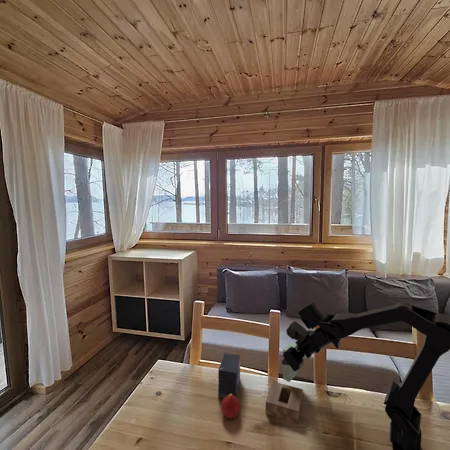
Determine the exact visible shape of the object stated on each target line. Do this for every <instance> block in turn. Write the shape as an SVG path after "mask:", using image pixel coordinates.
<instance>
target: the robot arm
mask: <svg viewBox="0 0 450 450" xmlns="http://www.w3.org/2000/svg"><path fill="white" fill-rule="evenodd" d="M296 315H297V316H298V318H299V319H300V320H301V322H302V323H303V324H304V325H305V327H306V328H307V329H308V330H307V329H306V328H305V327H304V326H302V324H300V323H299V322H298V321H293V322H291V323H290V324H289V325H288V328H286V330H285V331H286V335H287V337H289V338H290V339H291V340H295V343H294V344H297V350H296V349H295V348H294V347H290V348H288V349H287V350H286V351H285V352H284V353H283V352H282V357H283V356H284V359H283V358H282V361H281V364H282V366H283V365H290V367H291V368H292V370H293V371H297V372H298V371H299V370H300V369H301V368H302V367H303V366H304V362H305V360H304V357H306V358H307V359H310V358H311V357H312V355H314V354H319V352H320V351H321V350H322V349H324V348H326V347H328V346H329V345H331V344H332V345H333V346H334V347H335V348H336V349H339V348H340V346H341V345H342V339H345V338H347V337H349V336H351V335H353V334H355V333H357V332H359V331H362V330H365V329H369V328H370V329H371V328H374V327H379V326H383V325H388V324H394V323H399V322H404V323H406V324H408V325H410V326H411V327H412V328H413V329H414V330H416V331H418V332H419V333H421V334H423V335H424V336H425V337H424V341H423V344H422V345H421V347H420V349H419V351H418V352H417V354H416V356H415V358H414V360H413V362H412V364H411V365H410V367H409V368H408V371H407V373H406V375H405V376H404V378H403V380H402V381H401V382H400V383H396V382H395V381H394V380H393V381H392V383H391V386H390V388H389V389H388V390H387V391H386V395H385V399H384V400H383V404H384V405H385V406H384V411H385V413H386V415H387V417H388V418H389V419H390V422H389V441H390V443H391V447H392V448H391V449H392V450H422V449H421V447H422V435H423V434H422V430H421V422H422V413H421V412H420V411H419V410H418V408H417V407H416V406H415V403H416V399H417V396H418V395H419V393H420V392H421V390H422V388H423V387H424V384H425V383H426V380H427V379H428V377H429V376H430V374H431V373H432V371H433V369H434V367H435V365H436V364H437V362H438V361H439V359H440V358H441V357H442V356H443V355H445V354H446V353H448V352H449V351H450V315H448V314H445V313H438V312H435V311H433V310H431V309H428V308H423V307H420V306H416V305H413V304H411V303H409V302H406V301H401V302H399V303H397V304H391V305H388V306H384V307H379V308H375V309H372V310H368V311H367V310H366V311H363V312H360V313H359V312H358V313H354V312H342V313H341V312H339V313H337V314H332V313H326V314H324V315H323V314H322V312H321V311H320V310H319V308H317V306H316V304H315V303H314V302H311V303H310V304H307V305H306V306H304V307H303V308H301V309H300V310H299V311H297V312H296ZM316 327H317V328H316ZM315 328H316V329H315Z"/></svg>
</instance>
